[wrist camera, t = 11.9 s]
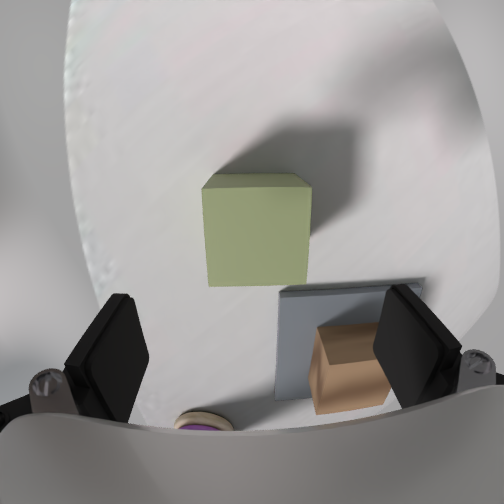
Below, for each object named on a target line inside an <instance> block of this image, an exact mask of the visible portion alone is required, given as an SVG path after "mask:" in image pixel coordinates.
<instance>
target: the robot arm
mask: <svg viewBox="0 0 504 504" xmlns="http://www.w3.org/2000/svg"><path fill="white" fill-rule="evenodd" d="M461 348H462V345H461V344H460V343H459V341H458V340H457V339H456V338H455V337H454V336H453V334H452V333H451V332H450V331H449V330H448V329H447V328H446V326H445V325H444V324H443V323H442V322H441V321H440V320H439V319H438V317H437V316H436V315H435V314H434V313H433V312H432V311H431V310H430V309H429V308H428V307H427V305H426V304H425V303H424V302H423V301H422V300H421V299H420V298H419V297H418V296H417V295H416V294H415V293H414V292H413V291H412V290H411V289H410V288H409V287H408V286H407V285H406V284H397V285H392V286H391V287H390V289H387V291H386V293H385V298H384V303H383V307H382V311H381V316H380V320H379V324H378V328H377V332H376V335H375V339H374V343H373V352H374V355H375V356H376V358H377V360H378V362H379V364H380V366H381V368H382V370H383V372H384V374H385V376H386V378H387V379H388V381H389V383H390V385H391V387H392V389H393V391H394V393H395V395H396V397H397V399H398V401H399V403H400V405H401V407H402V409H400V410H396V411H393V412H388V413H384V414H380V415H375V416H371V417H366V418H361V419H355V420H350V421H344V422H338V423H331V424H324V425H317V426H309V427H299V428H288V429H275V430H255V431H206V430H186V429H172V428H162V427H153V426H144V425H136V424H129V423H128V420H129V417H130V414H131V411H132V408H133V405H134V402H135V399H136V396H137V394H138V391H139V388H140V385H141V382H142V379H143V376H144V374H145V371H146V368H147V365H148V362H149V353H148V350H147V346H146V343H145V339H144V336H143V332H142V328H141V325H140V321H139V317H138V313H137V309H136V305H135V301H134V299H133V298H130V296H129V295H128V294H117V293H114V294H112V295H111V297H110V298H109V299H108V301H107V302H106V304H105V305H104V306H103V308H102V309H101V310H100V312H99V313H98V315H97V316H96V317H95V319H94V320H93V322H92V323H91V324H90V326H89V327H88V329H87V330H86V332H85V333H84V335H83V336H82V337H81V339H80V340H79V342H78V343H77V345H76V346H75V348H74V349H73V351H72V352H71V354H70V355H69V357H68V359H67V360H66V362H65V363H64V365H65V368H64V370H63V372H62V371H61V370H58V369H53V368H51V369H45V370H43V371H41V372H39V373H38V374H36V375H35V376H34V377H33V378H32V380H31V381H30V384H29V394H28V395H25V396H23V397H21V398H18V399H16V400H13V401H11V402H8V403H6V404H3V405H1V406H0V504H504V375H502V374H499V373H496V366H495V363H494V361H493V359H492V358H491V357H490V356H489V355H488V354H486V353H485V352H483V351H480V350H475V349H473V350H468V351H465V352H464V354H463V355H462V354H461V353H460V350H461Z"/></svg>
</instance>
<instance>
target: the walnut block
mask: <svg viewBox="0 0 504 504" xmlns="http://www.w3.org/2000/svg"><path fill="white" fill-rule="evenodd" d="M378 324H379V322H373V323H362V324H351V325H339V326H324V327H317V329H316V335H315V342H314V347H313V353H312V359H311V364H310V370H309V375H308V381H309V385H310V389H311V394H312V398H313V403H314V407H315V412H316V415H320V414H329V413H336V412H343V411H350V410H356V409H361V408H367V407H372V406H377V405H382V404H383V403H384V401H385V399H386V397H387V395H388V393H389V391H390V389H391V385H390V383H389V381H388V379H387V378H386V376H385V374H384V372H383V370H382V368H381V366H380V364H379V362H378V360H377V358H376V356H375V355H374V352H373V343H374V339H375V335H376V332H377V328H378Z"/></svg>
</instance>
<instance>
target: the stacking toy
mask: <svg viewBox="0 0 504 504" xmlns="http://www.w3.org/2000/svg"><path fill="white" fill-rule="evenodd" d="M174 429H186V430H206V431H234V429H233V427H232V425H231V424H230V423H229V422H228V421H227V420H226V419H224V418H222V417H220V416H218V415H215V414H212V413H207V412H190V413H186V414H183V415H181V416H180V417H178V418H177V420H176V421H175V424H174Z"/></svg>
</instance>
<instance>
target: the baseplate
mask: <svg viewBox="0 0 504 504" xmlns="http://www.w3.org/2000/svg"><path fill="white" fill-rule="evenodd" d="M406 285H407V286H408V287H409V288H410V289H411V290H412V291H413V292H414V293H415V294H416V295H417V296H418V297H419V298H420V295H421V292H422V287H421V286H420V285H419V283H410V284H406ZM391 286H392V285H386V286H373V287H359V288H343V289H326V290H307V291H284V292H279V306H278V333H277V356H276V376H275V401H279V400H293V399H304V398H312V394H311V389H310V385H309V381H308V375H309V370H310V364H311V359H312V353H313V347H314V342H315V335H316V329H317V327H324V326H339V325H351V324H362V323H373V322H379V320H380V316H381V311H382V307H383V303H384V298H385V293H386V291H387V289H390V287H391Z"/></svg>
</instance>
